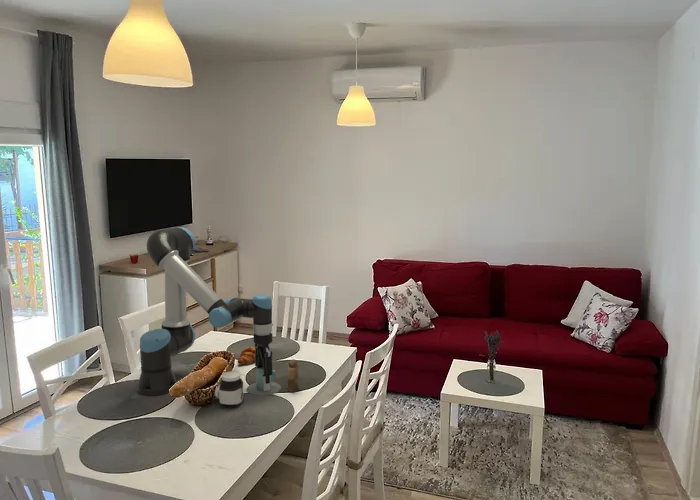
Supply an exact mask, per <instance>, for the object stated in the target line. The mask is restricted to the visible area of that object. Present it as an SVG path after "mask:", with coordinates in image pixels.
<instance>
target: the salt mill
mask: <svg viewBox="0 0 700 500" xmlns="http://www.w3.org/2000/svg"><path fill="white" fill-rule="evenodd" d="M299 370H300V369H299V365H298V361H297V360H296V359H291V360H289V362H288V365H287V391H288V392H290V393H296V392H299V387H300V386H299V380H300V379H299V376H300V375H299V373H300V372H299Z"/></svg>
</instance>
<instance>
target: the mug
mask: <svg viewBox="0 0 700 500" xmlns="http://www.w3.org/2000/svg"><path fill="white" fill-rule="evenodd" d="M255 370H256V371H255V376H256V378H255V381H256V382H255V383H256V389H257V390H258V391H263V376H262V375H264V369H263V367H260V368H257V367H256V369H255ZM272 373H273V374H272V375H270V389H271V382H276V379H277V377H276V375H277V374H276V370H275V369H272Z"/></svg>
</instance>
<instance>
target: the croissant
mask: <svg viewBox="0 0 700 500" xmlns="http://www.w3.org/2000/svg"><path fill="white" fill-rule="evenodd" d="M237 364H239V365H251V364H255V345H254V346H249V347H245V348H244V349H242V351H241V353H240V355H239V358H238V359H237Z"/></svg>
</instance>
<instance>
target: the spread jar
mask: <svg viewBox="0 0 700 500" xmlns="http://www.w3.org/2000/svg"><path fill="white" fill-rule="evenodd" d="M214 396H215V398H217V399H219V403H220V405H221V406H223V407H224V408H236V407H238V406H239V407H240V406H241V404H242V403H243V400H244V381H243V379H242V378H241V373H240V372H239V371H226V372H223V373H222V374H221V382H220V383H219V385H218V386H217V387H216V389H215V392H214Z"/></svg>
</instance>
